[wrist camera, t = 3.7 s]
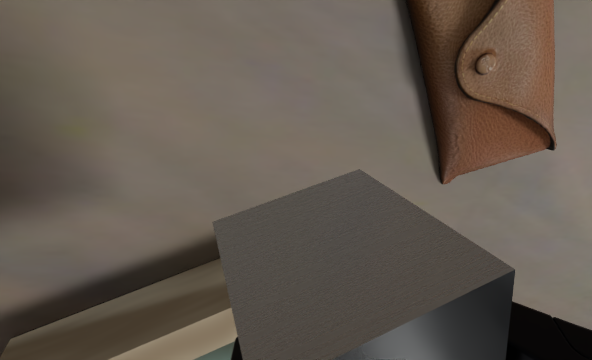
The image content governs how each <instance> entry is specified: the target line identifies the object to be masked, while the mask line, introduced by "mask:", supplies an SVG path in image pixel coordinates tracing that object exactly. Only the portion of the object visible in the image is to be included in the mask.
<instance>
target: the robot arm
mask: <svg viewBox="0 0 592 360" xmlns="http://www.w3.org/2000/svg"><path fill="white" fill-rule="evenodd" d="M231 360H243V358H242V353H241V349H240V344H239V340H238V337H236V339H235V342H234V347H233V351H232V356H231ZM506 360H592V330H590V329H587V328H584V327H581V326H578V325H575V324H573V323H570V322H567V321H564V320H562V319H559V318H556V317H553V318H552V317H551V316H550V315H548V314H545V313H542V312H540V311H537V310H534V309H531V308H529V307H526V306H523V305H521V304H518V303H515V302H512V304H511V313H510V323H509V332H508V342H507V351H506Z"/></svg>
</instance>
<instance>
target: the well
mask: <svg viewBox="0 0 592 360" xmlns="http://www.w3.org/2000/svg"><path fill="white" fill-rule="evenodd" d="M236 337H238V335H237V331H236V326H235V322H234V317H233V313H232V308H231V304H230V299H229V294H228V290H227V285H226V281H225V276H224V272H223V267H222V263H221V258H219V259H216V260H214V261H211V262H209V263H206V264H203V265H201V266H198V267H196V268H193V269H190V270H188V271H185V272H183V273H180V274H177V275H175V276H172V277H170V278H167V279H165V280H162V281H159V282H157V283H154V284H152V285H149V286H146V287H144V288H141V289H139V290H136V291H133V292H131V293H128V294H126V295H123V296H120V297H118V298H115V299H113V300H110V301H107V302H105V303H102V304H100V305H97V306H95V307H92V308H89V309H87V310H84V311H82V312H79V313H76V314H74V315H71V316H69V317H66V318H63V319H61V320H58V321H56V322H53V323H50V324H48V325H45V326H43V327H40V328H37V329H35V330H32V331H30V332H27V333H25V334H22V335H19V336H17V337H14V338H12V339H10V341H9V343H8V344H7V346H6V348H5V350H4V351H3V353H2V355H1V357H0V360H231V356H232V351H233V347H234V342H235V339H236Z"/></svg>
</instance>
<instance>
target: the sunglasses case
mask: <svg viewBox="0 0 592 360" xmlns="http://www.w3.org/2000/svg"><path fill="white" fill-rule="evenodd" d="M406 2H407V7H408V10H409V14H410V19H411V22H412V26H413V30H414V33H415V39H416V43H417V49H418V53H419V57H420V61H421V66H422V71H423V75H424V80H425V85H426V89H427V94H428V100H429V105H430V110H431V115H432V119H433V125H434V130H435V134H436V139H437V149H438V155H439V163H440V167H439V172H440V177H441V182H442V184H447V183H449V182H450V181H451V180H452V179H454V178H455V177H456V176H458V175H462V174H465V173H468V172H471V171H475V170H478V169H482V168H484V167H488V166H492V165H495V164H498V163H501V162H506V161H508V160H511V159H515V158H518V157H522V156H525V155H529V154H532V153H535V152H538V151H542V150H545V149H549V150H555V149H556V146H557V144H556V137H555V133H554V128H553V127H554V126H553V106H554V79H555V78H554V60H555V57H554V55H555V50H554V48H555V45H554V1H553V0H406Z"/></svg>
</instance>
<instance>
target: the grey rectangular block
mask: <svg viewBox="0 0 592 360" xmlns="http://www.w3.org/2000/svg"><path fill="white" fill-rule="evenodd" d="M213 227H214V231H215V236H216V240H217V245H218V249H219V254H220V258H221V263H222V267H223V272H224V276H225V281H226V285H227V290H228V294H229V299H230V304H231V308H232V313H233V317H234V322H235V326H236V331H237V335H238V340H239V344H240V349H241V353H242V358H243V360H506V351H507V342H508V332H509V323H510V313H511V304H512V295H513V285H514V276H515V269H514V268H512V267H511V266H509V265H508V264H506V263H504V262H503V261H501V260H500V259H498V258H497V257H495V256H494V255H492V254H491V253H489V252H487V251H486V250H484V249H483V248H481V247H480V246H478V245H477V244H475V243H473V242H472V241H470V240H469V239H467V238H466V237H464V236H463V235H461V234H459V233H458V232H456V231H455V230H453V229H452V228H450V227H449V226H447V225H445V224H444V223H442V222H441V221H439V220H438V219H436V218H435V217H433V216H432V215H430V214H428V213H427V212H425V211H424V210H422V209H421V208H419V207H418V206H416V205H414V204H413V203H411V202H410V201H408V200H407V199H405V198H404V197H402V196H400V195H399V194H397V193H396V192H394V191H393V190H391V189H390V188H388V187H386V186H385V185H383V184H382V183H380V182H379V181H377V180H376V179H374V178H372V177H371V176H369V175H368V174H366V173H365V172H363V171H362V170H360V169H359V170H356V171H353V172H350V173H347V174H345V175H342V176H339V177H336V178H334V179H331V180H328V181H325V182H322V183H320V184H317V185H314V186H311V187H308V188H306V189H303V190H300V191H297V192H295V193H292V194H289V195H286V196H283V197H281V198H278V199H275V200H272V201H270V202H267V203H264V204H261V205H258V206H256V207H253V208H250V209H247V210H245V211H242V212H239V213H236V214H233V215H231V216H228V217H225V218H222V219H219V220H217V221H214V222H213Z"/></svg>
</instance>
